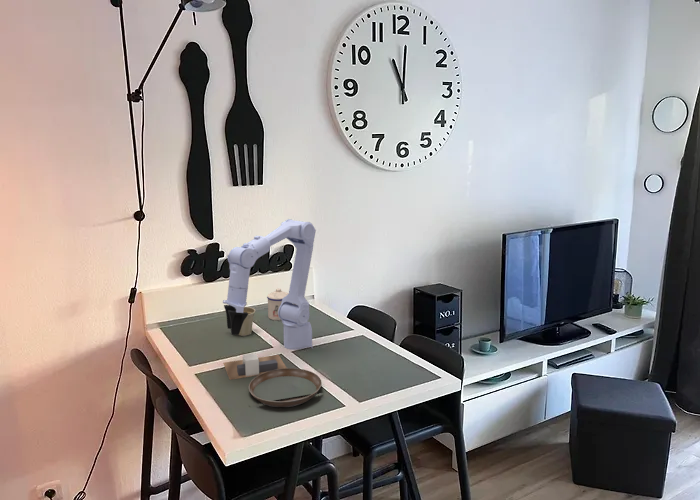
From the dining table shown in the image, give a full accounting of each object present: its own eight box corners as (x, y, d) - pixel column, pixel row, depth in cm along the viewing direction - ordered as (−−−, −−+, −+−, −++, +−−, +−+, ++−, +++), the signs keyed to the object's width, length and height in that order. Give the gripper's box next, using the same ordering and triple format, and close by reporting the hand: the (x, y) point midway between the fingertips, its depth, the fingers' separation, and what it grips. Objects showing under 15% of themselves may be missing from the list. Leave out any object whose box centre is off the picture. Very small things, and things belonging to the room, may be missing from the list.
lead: (275, 366, 175) (275, 359, 174) (277, 369, 173) (277, 362, 172) (237, 372, 171) (236, 365, 170) (238, 375, 169) (238, 368, 168)
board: (278, 357, 184) (278, 354, 184) (288, 373, 172) (288, 370, 172) (223, 365, 178) (223, 362, 178) (229, 382, 166) (229, 379, 166)
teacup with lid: (272, 322, 217) (271, 293, 214) (264, 315, 225) (263, 287, 222) (300, 317, 222) (300, 289, 220) (292, 310, 230) (291, 283, 228)
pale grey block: (255, 367, 174) (255, 352, 173) (259, 374, 169) (258, 359, 168) (243, 369, 173) (242, 354, 172) (246, 376, 168) (245, 361, 167)
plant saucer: (259, 418, 147) (259, 406, 146) (241, 385, 165) (241, 374, 165) (332, 403, 155) (332, 392, 154) (307, 373, 173) (307, 363, 173)
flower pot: (261, 331, 207) (260, 309, 205) (244, 339, 199) (243, 316, 197) (242, 327, 212) (241, 305, 210) (224, 334, 204) (223, 312, 202)
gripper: (221, 282, 173) (216, 325, 174) (228, 290, 160) (223, 336, 160) (244, 284, 176) (239, 326, 176) (252, 291, 162) (247, 337, 163)
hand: (233, 331), depth 169 cm, fingers open, 7 cm apart
